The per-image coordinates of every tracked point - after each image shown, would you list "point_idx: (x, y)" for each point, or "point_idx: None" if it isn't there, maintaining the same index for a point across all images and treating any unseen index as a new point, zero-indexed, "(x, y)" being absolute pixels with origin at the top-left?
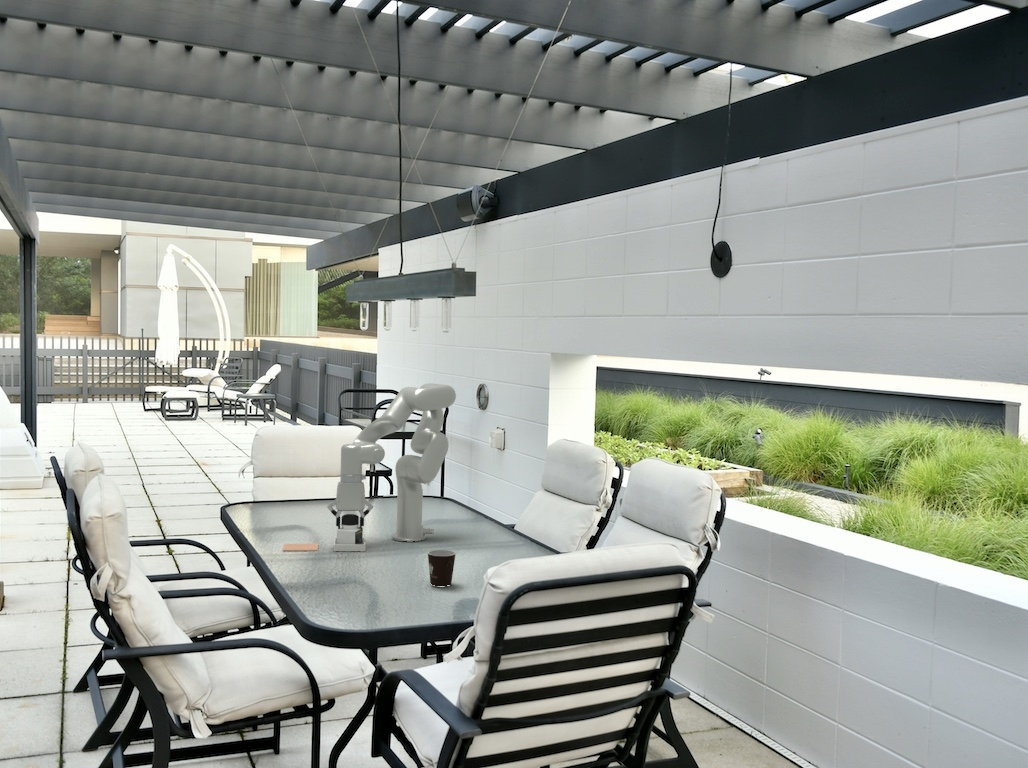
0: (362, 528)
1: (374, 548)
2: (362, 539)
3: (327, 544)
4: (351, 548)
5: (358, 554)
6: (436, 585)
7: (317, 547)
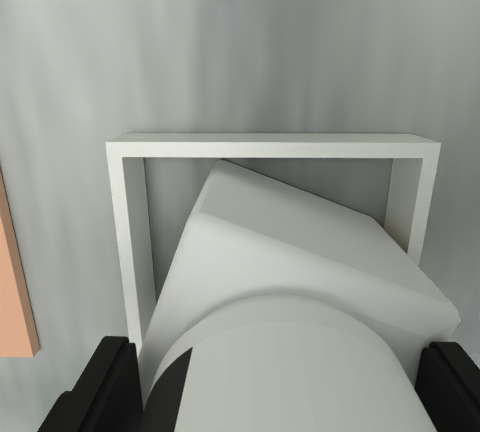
0: (453, 324)
1: (464, 275)
2: (404, 156)
3: (67, 115)
4: None
5: None
6: None
7: (14, 290)
